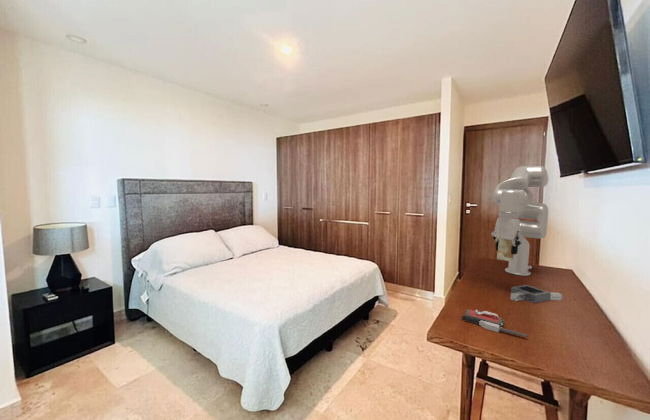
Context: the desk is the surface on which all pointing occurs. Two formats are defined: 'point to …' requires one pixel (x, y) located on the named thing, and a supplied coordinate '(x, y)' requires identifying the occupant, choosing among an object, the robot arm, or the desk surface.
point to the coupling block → (532, 294)
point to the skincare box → (504, 250)
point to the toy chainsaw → (488, 321)
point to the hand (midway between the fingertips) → (506, 251)
